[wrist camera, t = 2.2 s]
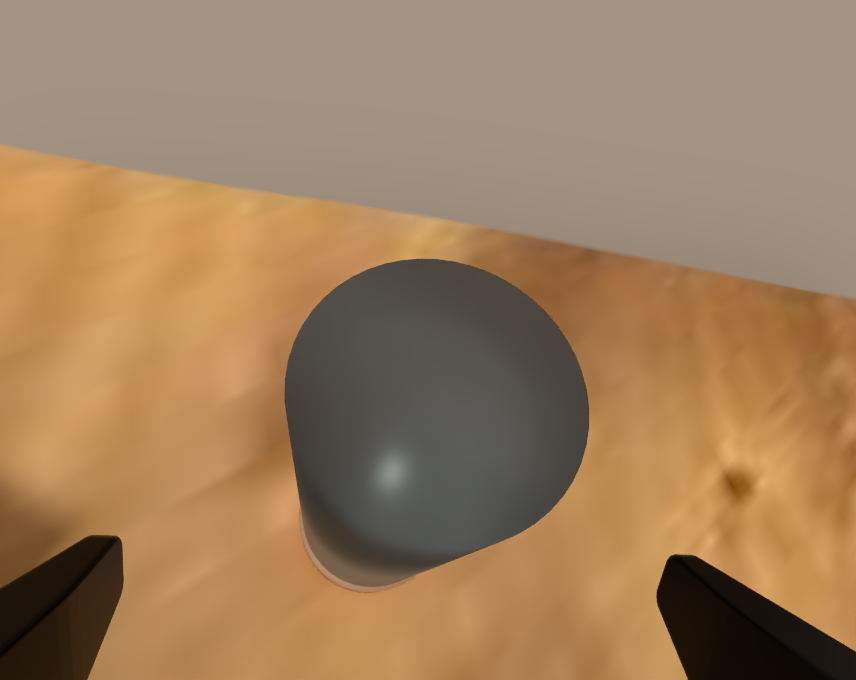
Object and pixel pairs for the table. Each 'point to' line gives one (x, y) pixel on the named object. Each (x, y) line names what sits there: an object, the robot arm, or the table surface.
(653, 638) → the table surface
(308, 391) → the grey rounded peg
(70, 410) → the table surface
